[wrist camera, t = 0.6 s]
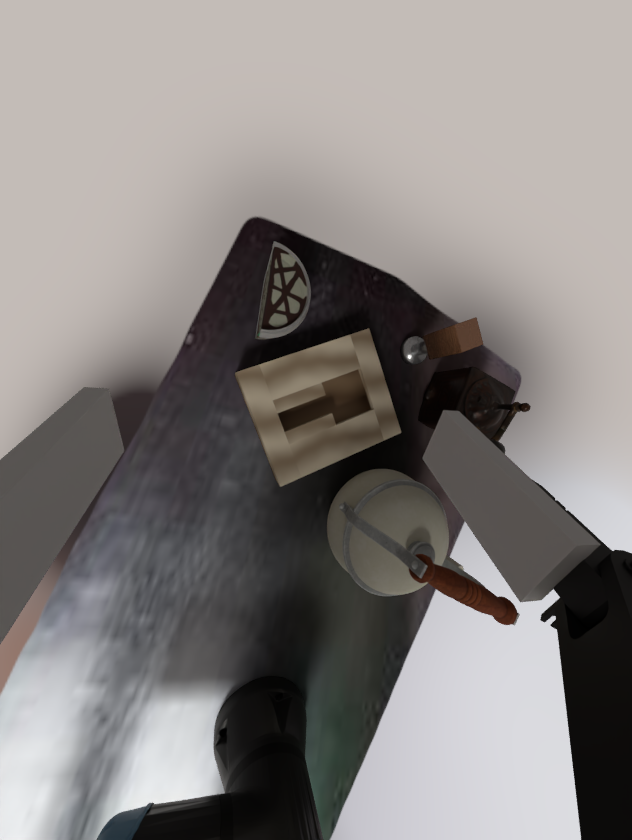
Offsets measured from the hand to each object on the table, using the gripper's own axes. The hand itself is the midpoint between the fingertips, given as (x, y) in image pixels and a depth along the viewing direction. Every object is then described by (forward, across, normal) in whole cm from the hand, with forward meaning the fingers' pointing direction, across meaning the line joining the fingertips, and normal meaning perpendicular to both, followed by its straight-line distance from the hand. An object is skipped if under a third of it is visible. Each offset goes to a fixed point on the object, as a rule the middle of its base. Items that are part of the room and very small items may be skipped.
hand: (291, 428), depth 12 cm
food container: (+40, -1, +5) cm, 40 cm away
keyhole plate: (+33, -9, +17) cm, 38 cm away
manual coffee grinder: (+35, -34, +19) cm, 52 cm away
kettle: (+24, -20, +35) cm, 47 cm away
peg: (+40, -26, +8) cm, 49 cm away
